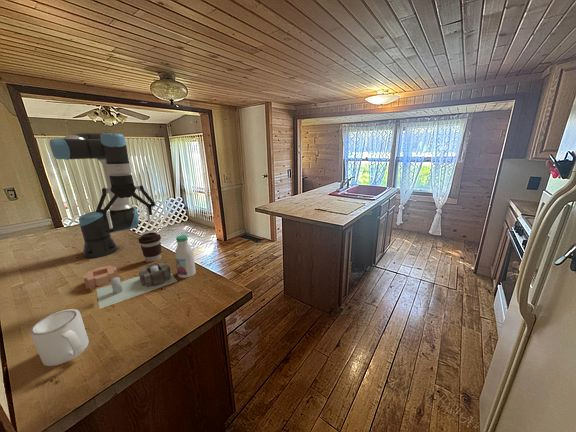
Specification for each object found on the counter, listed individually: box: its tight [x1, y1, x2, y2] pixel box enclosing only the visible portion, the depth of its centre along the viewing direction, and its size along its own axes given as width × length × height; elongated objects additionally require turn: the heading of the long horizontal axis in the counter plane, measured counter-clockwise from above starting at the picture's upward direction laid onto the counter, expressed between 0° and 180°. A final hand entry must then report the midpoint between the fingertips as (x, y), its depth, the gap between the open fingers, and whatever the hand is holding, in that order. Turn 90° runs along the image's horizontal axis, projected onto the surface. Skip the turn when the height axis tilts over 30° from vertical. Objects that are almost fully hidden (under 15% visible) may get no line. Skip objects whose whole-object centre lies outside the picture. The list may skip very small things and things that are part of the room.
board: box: [95, 266, 178, 310], centre depth 97 cm, size 16×27×8 cm, turn 132°
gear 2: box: [138, 261, 172, 287], centre depth 101 cm, size 11×11×5 cm
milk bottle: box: [174, 234, 197, 279], centre depth 104 cm, size 8×8×20 cm
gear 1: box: [82, 264, 119, 291], centre depth 102 cm, size 11×11×5 cm
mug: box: [29, 308, 90, 367], centre depth 66 cm, size 14×10×11 cm
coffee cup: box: [137, 231, 162, 263], centre depth 119 cm, size 10×10×15 cm
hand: (131, 225), depth 97 cm, fingers open, 13 cm apart
